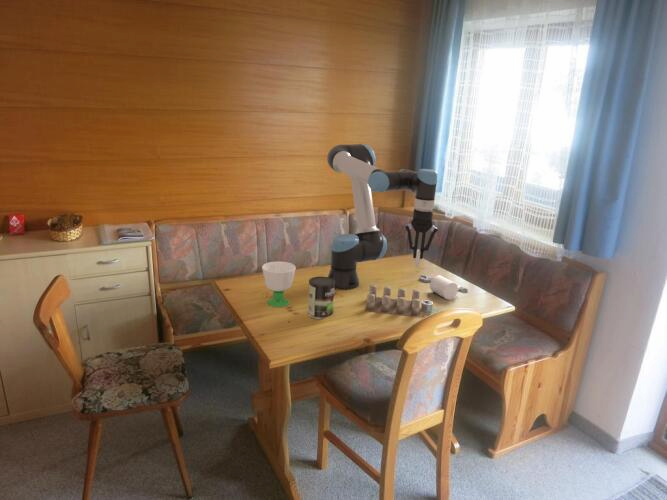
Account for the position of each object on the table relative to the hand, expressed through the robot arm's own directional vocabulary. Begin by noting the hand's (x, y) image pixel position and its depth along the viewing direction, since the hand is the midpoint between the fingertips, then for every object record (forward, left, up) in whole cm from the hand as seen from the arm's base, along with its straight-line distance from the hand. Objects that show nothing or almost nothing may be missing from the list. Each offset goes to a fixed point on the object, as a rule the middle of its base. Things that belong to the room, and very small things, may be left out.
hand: (416, 265), depth 197 cm
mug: (+15, +19, -19) cm, 31 cm away
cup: (-55, -10, -19) cm, 59 cm away
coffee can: (-36, -16, -19) cm, 44 cm away
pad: (+7, -3, -19) cm, 20 cm away
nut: (+6, -3, -18) cm, 19 cm away
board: (-8, -3, -19) cm, 21 cm away
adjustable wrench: (+13, +31, -19) cm, 39 cm away
